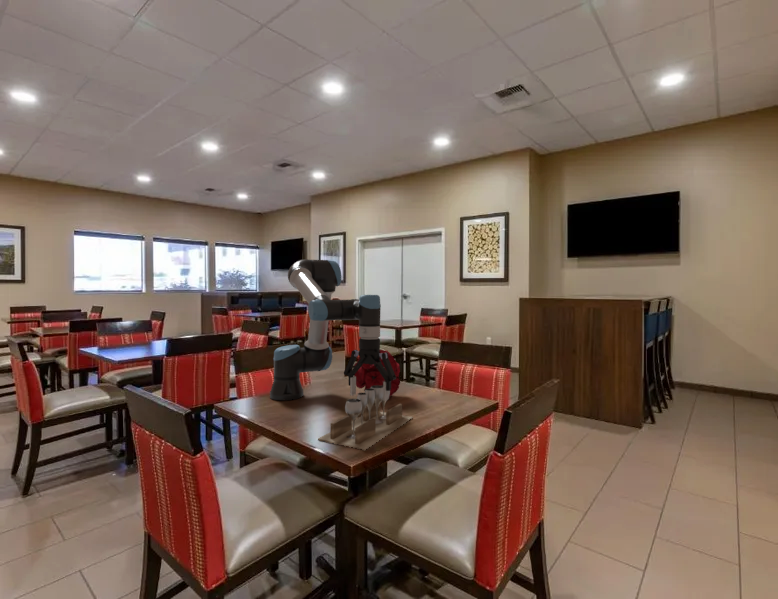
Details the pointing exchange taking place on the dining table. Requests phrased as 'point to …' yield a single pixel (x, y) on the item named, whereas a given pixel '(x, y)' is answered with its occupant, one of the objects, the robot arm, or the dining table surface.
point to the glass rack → (365, 428)
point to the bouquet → (377, 375)
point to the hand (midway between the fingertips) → (369, 397)
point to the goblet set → (359, 405)
